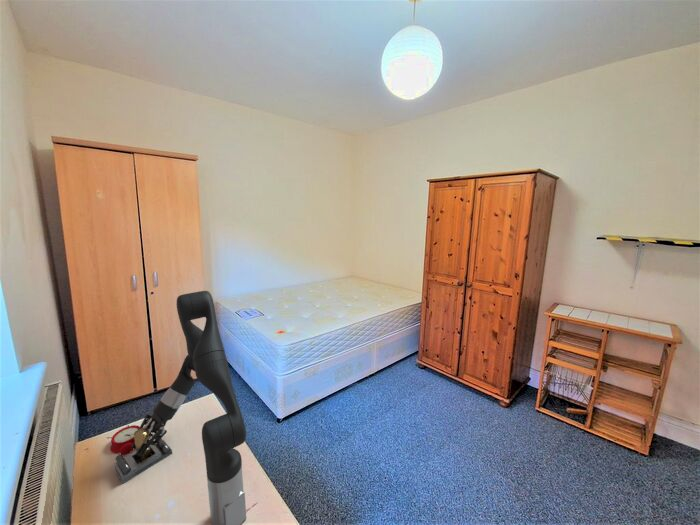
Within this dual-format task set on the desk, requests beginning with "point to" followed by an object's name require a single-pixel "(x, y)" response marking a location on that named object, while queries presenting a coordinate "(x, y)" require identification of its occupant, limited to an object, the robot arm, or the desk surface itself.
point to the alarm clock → (123, 440)
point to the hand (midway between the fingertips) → (136, 451)
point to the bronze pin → (139, 440)
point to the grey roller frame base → (130, 468)
